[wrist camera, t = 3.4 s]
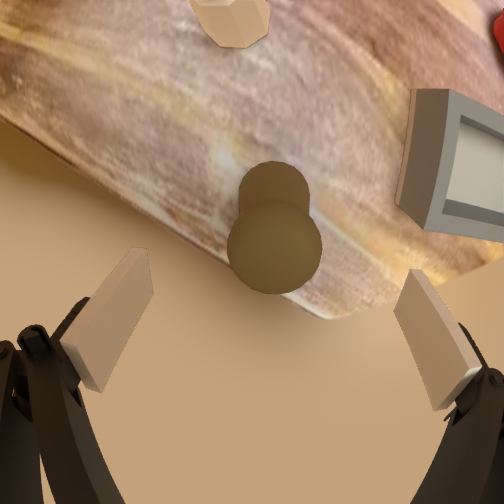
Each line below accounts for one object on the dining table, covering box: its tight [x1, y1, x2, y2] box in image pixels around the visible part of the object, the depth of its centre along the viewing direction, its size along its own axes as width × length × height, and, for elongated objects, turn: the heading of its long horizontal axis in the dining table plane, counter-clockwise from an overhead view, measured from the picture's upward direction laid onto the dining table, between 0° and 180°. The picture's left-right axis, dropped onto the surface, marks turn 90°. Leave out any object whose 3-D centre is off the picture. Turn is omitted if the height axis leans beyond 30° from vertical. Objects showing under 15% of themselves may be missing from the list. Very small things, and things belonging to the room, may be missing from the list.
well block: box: [394, 89, 504, 243], centre depth 17 cm, size 10×16×6 cm, turn 87°
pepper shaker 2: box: [227, 161, 322, 295], centre depth 19 cm, size 6×6×11 cm
